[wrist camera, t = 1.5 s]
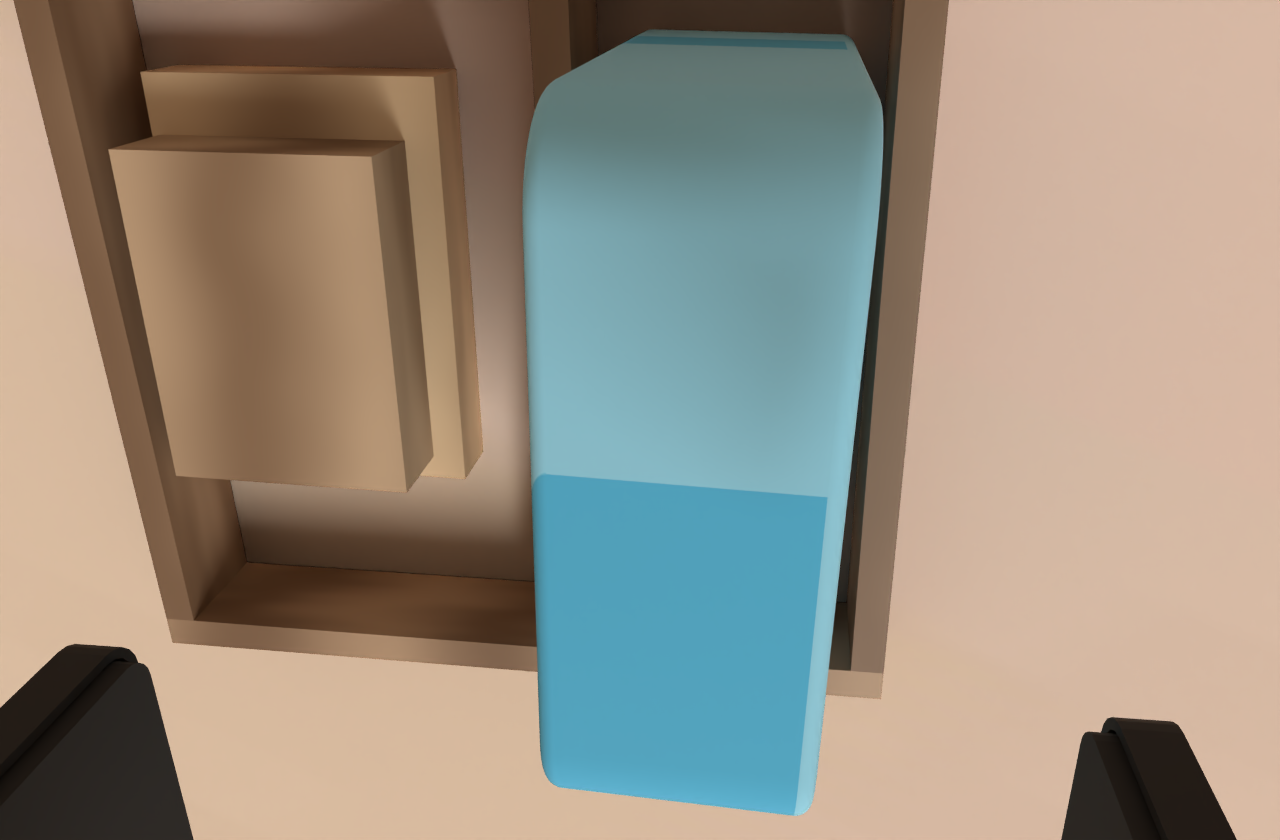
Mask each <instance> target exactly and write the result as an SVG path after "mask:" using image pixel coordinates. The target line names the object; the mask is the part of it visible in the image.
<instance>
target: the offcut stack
mask: <svg viewBox="0 0 1280 840" xmlns="http://www.w3.org/2000/svg"><path fill="white" fill-rule="evenodd" d="M140 73H141V78H142V84H143V89H144V94H145V99H146V105H147V110H148V115H149V120H150V126H151V131H152V136H153V137H150V138H146V139H143V140H139V141H136V142H132V143H129V144H125V145H122V146H118V147H115V148H111V149H108V150H109V155H110V160H111V165H112V170H113V174H114V179H115V184H116V189H117V194H118V199H119V203H120V208H121V213H122V218H123V223H124V227H125V232H126V237H127V242H128V247H129V251H130V256H131V261H132V266H133V271H134V275H135V280H136V285H137V290H138V295H139V300H140V304H141V309H142V314H143V319H144V324H145V328H146V333H147V338H148V343H149V348H150V352H151V357H152V362H153V367H154V372H155V377H156V381H157V386H158V391H159V396H160V401H161V405H162V410H163V415H164V420H165V425H166V429H167V434H168V439H169V444H170V449H171V453H172V458H173V463H174V468H175V473H176V476H184V477H198V478H212V479H225V480H239V481H253V482H266V483H280V484H294V485H307V486H321V487H335V488H348V489H362V490H376V491H389V492H403V493H407V492H408V491H409V489H410V488H411V486H412V485H413V484H414V482H415V481H416V480H417V478H418V477H419V476H430V477H444V478H459V479H466V477H467V476H468V474H469V472H470V471H471V469H472V468H473V466H474V465H475V463H476V462H477V460H478V459H479V457H480V456H481V454H482V452H483V441H482V427H481V413H480V399H479V385H478V371H477V356H476V342H475V328H474V314H473V300H472V286H471V271H470V257H469V243H468V229H467V215H466V201H465V187H464V172H463V158H462V144H461V130H460V116H459V102H458V87H457V73H456V69H418V68H354V67H290V66H226V65H175V66H169V67H164V68H158V69H153V70H148V71H142V72H140Z"/></svg>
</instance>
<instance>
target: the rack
mask: <svg viewBox="0 0 1280 840" xmlns="http://www.w3.org/2000/svg"><path fill="white" fill-rule="evenodd" d="M528 1H529V18H530V35H531V53H532V70H533V87H534V105H535V109H536V106H537V103H538V101H539V99H540V97H541V95H542V93H543V92H544V90H545V89H546V87H547V86H548V85H549V84H550V83H551V82H552V81H554V80H555V79H557V78H559V77H561V76H563V75H564V74H566V73H568V72H570V71H572V70H574V69H576V68H578V67H579V66H581V65H583V64H585V63H587V62H589V61H591V60H592V59H594V58H596V57H598V42H597V12H596V0H528ZM948 3H949V0H893V7H892V20H891V33H890V46H889V59H888V72H887V85H886V98H885V111H884V124H883V161H882V179H881V193H880V206H879V217H878V228H877V237H876V247H875V256H874V265H873V274H872V283H871V294H870V307H869V320H868V333H867V346H866V360H865V373H864V386H863V399H862V412H861V425H860V438H859V451H858V464H857V477H856V490H855V503H854V516H853V529H852V542H851V555H850V569H849V582H848V595H847V603H840V602H836V607H835V616H834V625H833V634H832V643H831V652H830V661H829V670H828V679H827V688H826V695H835V696H848V697H860V698H873V699H881V693H882V683H883V673H884V662H885V652H886V642H887V631H888V621H889V611H890V601H891V590H892V580H893V570H894V559H895V549H896V539H897V528H898V518H899V508H900V498H901V487H902V477H903V467H904V456H905V446H906V436H907V425H908V415H909V405H910V395H911V384H912V374H913V364H914V353H915V343H916V333H917V323H918V312H919V302H920V292H921V281H922V271H923V261H924V250H925V240H926V230H927V220H928V209H929V199H930V189H931V178H932V168H933V158H934V147H935V137H936V127H937V117H938V106H939V96H940V86H941V75H942V65H943V55H944V45H945V34H946V24H947V14H948ZM14 4H15V8H16V12H17V16H18V20H19V24H20V28H21V32H22V36H23V40H24V44H25V48H26V52H27V57H28V61H29V65H30V69H31V73H32V77H33V81H34V85H35V89H36V93H37V97H38V101H39V105H40V109H41V113H42V117H43V121H44V125H45V129H46V133H47V137H48V141H49V145H50V149H51V153H52V157H53V161H54V165H55V170H56V174H57V178H58V182H59V186H60V190H61V194H62V198H63V202H64V206H65V210H66V214H67V218H68V222H69V226H70V230H71V234H72V238H73V242H74V246H75V250H76V254H77V258H78V262H79V266H80V270H81V274H82V278H83V283H84V287H85V291H86V295H87V299H88V303H89V307H90V311H91V315H92V319H93V323H94V327H95V331H96V335H97V339H98V343H99V347H100V351H101V355H102V359H103V363H104V367H105V371H106V375H107V379H108V383H109V387H110V391H111V396H112V400H113V404H114V408H115V412H116V416H117V420H118V424H119V428H120V432H121V436H122V440H123V444H124V448H125V452H126V456H127V460H128V464H129V468H130V472H131V476H132V480H133V484H134V488H135V492H136V496H137V500H138V504H139V509H140V513H141V517H142V521H143V525H144V529H145V533H146V537H147V541H148V545H149V549H150V553H151V557H152V561H153V565H154V569H155V573H156V577H157V581H158V585H159V589H160V593H161V597H162V601H163V605H164V609H165V613H166V617H167V621H168V626H169V630H170V634H171V638H172V642H173V643H184V644H196V645H209V646H221V647H234V648H246V649H259V650H271V651H284V652H296V653H309V654H321V655H334V656H347V657H359V658H372V659H384V660H397V661H409V662H422V663H434V664H447V665H459V666H472V667H484V668H497V669H509V670H522V671H535V672H538V668H537V638H536V609H535V582H528V581H514V580H499V579H484V578H469V577H454V576H439V575H425V574H410V573H395V572H380V571H365V570H350V569H336V568H321V567H306V566H291V565H276V564H261V563H247V561H246V556H245V551H244V547H243V542H242V537H241V532H240V527H239V522H238V517H237V512H236V507H235V502H234V498H233V493H232V488H231V483H230V480H225V479H212V478H198V477H184V476H176V473H175V468H174V463H173V458H172V453H171V449H170V444H169V439H168V434H167V429H166V425H165V420H164V415H163V410H162V405H161V401H160V396H159V391H158V386H157V381H156V377H155V372H154V367H153V362H152V357H151V352H150V348H149V343H148V338H147V333H146V328H145V324H144V319H143V314H142V309H141V304H140V300H139V295H138V290H137V285H136V280H135V275H134V271H133V266H132V261H131V256H130V251H129V247H128V242H127V237H126V232H125V227H124V223H123V218H122V213H121V208H120V203H119V199H118V194H117V189H116V184H115V179H114V174H113V170H112V165H111V160H110V155H109V150H108V149H111V148H115V147H118V146H122V145H125V144H129V143H132V142H136V141H139V140H143V139H146V138H150V137H153V136H152V131H151V126H150V120H149V115H148V110H147V105H146V99H145V94H144V89H143V84H142V78H141V73H140V72H142V71H146V66H145V61H144V57H143V52H142V47H141V42H140V37H139V32H138V27H137V22H136V17H135V13H134V8H133V3H132V0H14Z"/></svg>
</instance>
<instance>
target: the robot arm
mask: <svg viewBox="0 0 1280 840" xmlns="http://www.w3.org/2000/svg"><path fill="white" fill-rule="evenodd" d="M0 840H193V836H192V832H191V828H190V824H189V820H188V817H187V813H186V809H185V805H184V801H183V797H182V793H181V790H180V786H179V782H178V778H177V774H176V770H175V766H174V763H173V759H172V755H171V751H170V747H169V743H168V739H167V736H166V732H165V728H164V724H163V720H162V716H161V712H160V709H159V705H158V701H157V697H156V693H155V689H154V685H153V682H152V678H151V674H150V672H149V670H148V668H147V667H146V666H145V665H144V664H141V663H138V661H137V659H136V656H135V655H134V654H133V653H132V652H131V651H130V650H129V649H126V648H123V647H110V646H96V645H82V644H73V645H69V646H66V647H65V648H64V649H62V650H61V651H59V652H58V653H57V654H56V655H55V656H54V657H53V658H52V659H51V660H50V661H49V662H48V663H47V664H45V665H44V666H43V667H42V668H41V669H40V670H39V671H38V672H37V673H36V674H35V675H34V676H33V677H32V678H31V679H30V680H29V681H28V682H27V683H26V684H25V685H24V686H23V687H22V688H21V689H19V690H18V691H17V692H16V693H15V694H14V695H13V696H12V697H11V698H10V699H9V700H8V701H7V702H6V703H5V704H4V705H3V706H2V707H1V708H0ZM1061 840H1237V839H1236V837H1235V835H1234V833H1233V831H1232V829H1231V827H1230V825H1229V823H1228V821H1227V819H1226V817H1225V815H1224V813H1223V811H1222V809H1221V807H1220V805H1219V803H1218V801H1217V799H1216V797H1215V795H1214V793H1213V791H1212V789H1211V787H1210V785H1209V783H1208V781H1207V779H1206V777H1205V775H1204V773H1203V771H1202V769H1201V767H1200V765H1199V763H1198V761H1197V759H1196V757H1195V755H1194V753H1193V751H1192V749H1191V747H1190V745H1189V743H1188V741H1187V739H1186V737H1185V735H1184V733H1183V732H1182V730H1181V729H1180V727H1179V726H1178V725H1177V724H1175V723H1174V722H1171V721H1156V720H1142V719H1128V718H1114V717H1111V718H1108V719H1107V720H1106V721H1105V723H1104V725H1103V728H1102V731H1101V733H1099V732H1086V733H1085V734H1084V735H1083V737H1082V740H1081V744H1080V749H1079V754H1078V759H1077V764H1076V769H1075V774H1074V779H1073V784H1072V789H1071V794H1070V799H1069V804H1068V809H1067V814H1066V819H1065V824H1064V829H1063V834H1062V839H1061Z"/></svg>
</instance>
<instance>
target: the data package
mask: <svg viewBox="0 0 1280 840" xmlns="http://www.w3.org/2000/svg"><path fill="white" fill-rule="evenodd" d="M882 161H883V111H882V105H881V101H880V98H879V96H878V94H877V92H876V90H875V87H874V85H873V83H872V81H871V79H870V76H869V74H868V72H867V70H866V68H865V66H864V63H863V61H862V59H861V57H860V55H859V52H858V50H857V48H856V46H855V44H854V42H853V40H852V39H851V38H850V37H849V36H847V35H843V34H808V33H770V32H732V31H694V30H656V29H651V30H647V31H645V32H643V33H641V34H639V35H637V36H635V37H633V38H632V39H630V40H628V41H626V42H624V43H622V44H620V45H619V46H617V47H615V48H613V49H611V50H609V51H607V52H605V53H604V54H602V55H600V56H598V57H596V58H594V59H592V60H591V61H589V62H587V63H585V64H583V65H581V66H579V67H578V68H576V69H574V70H572V71H570V72H568V73H566V74H564V75H563V76H561V77H559V78H557V79H555V80H554V81H552V82H551V83H550V84H549V85H548V86H547V87H546V89H545V90H544V92H543V93H542V95H541V97H540V99H539V101H538V103H537V106H536V109H535V112H534V115H533V119H532V123H531V127H530V132H529V137H528V143H527V150H526V158H525V167H524V179H523V207H522V216H523V251H524V281H525V311H526V340H527V370H528V400H529V430H530V460H531V489H532V519H533V549H534V579H535V609H536V638H537V668H538V698H539V728H540V751H541V760H542V765H543V769H544V772H545V775H546V776H547V778H548V780H549V781H550V782H551V783H552V784H554V785H556V786H558V787H561V788H569V789H577V790H586V791H594V792H602V793H611V794H619V795H627V796H635V797H644V798H652V799H660V800H668V801H677V802H685V803H693V804H702V805H710V806H718V807H726V808H735V809H743V810H751V811H759V812H768V813H776V814H784V815H792V816H798V815H801V814H803V813H805V812H806V811H807V810H808V809H809V808H810V806H811V804H812V801H813V797H814V792H815V785H816V777H817V769H818V760H819V751H820V742H821V733H822V724H823V715H824V706H825V697H826V688H827V679H828V670H829V661H830V652H831V643H832V634H833V625H834V616H835V607H836V598H837V589H838V580H839V571H840V562H841V553H842V544H843V535H844V526H845V517H846V508H847V499H848V490H849V481H850V472H851V463H852V454H853V445H854V436H855V427H856V418H857V409H858V400H859V391H860V382H861V373H862V364H863V355H864V346H865V337H866V328H867V319H868V310H869V301H870V292H871V283H872V274H873V265H874V256H875V247H876V237H877V228H878V217H879V206H880V193H881V179H882Z"/></svg>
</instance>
